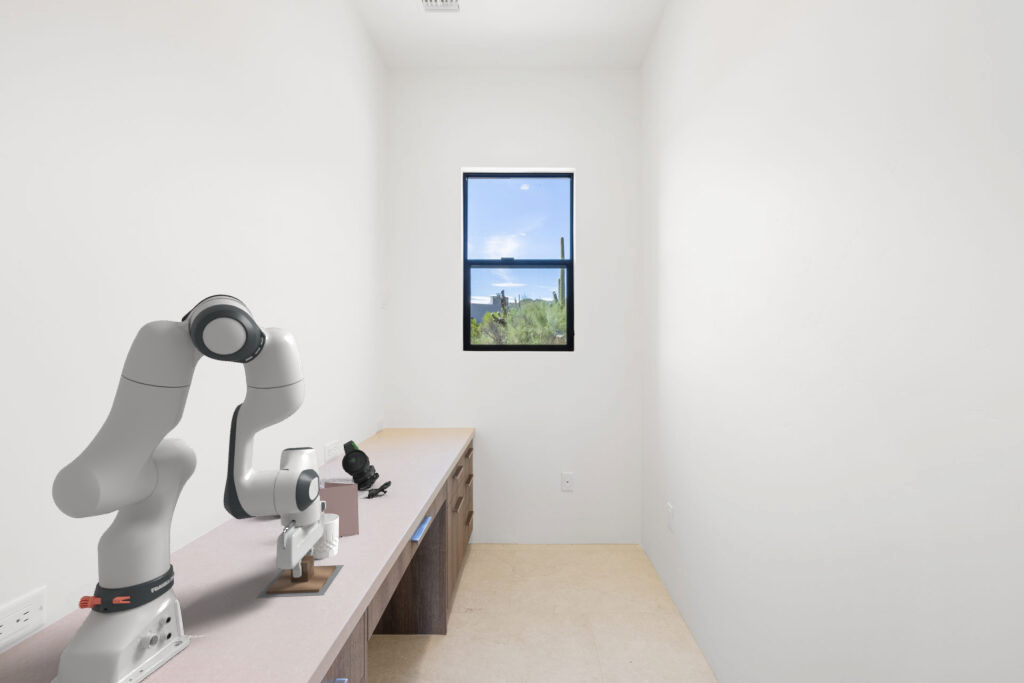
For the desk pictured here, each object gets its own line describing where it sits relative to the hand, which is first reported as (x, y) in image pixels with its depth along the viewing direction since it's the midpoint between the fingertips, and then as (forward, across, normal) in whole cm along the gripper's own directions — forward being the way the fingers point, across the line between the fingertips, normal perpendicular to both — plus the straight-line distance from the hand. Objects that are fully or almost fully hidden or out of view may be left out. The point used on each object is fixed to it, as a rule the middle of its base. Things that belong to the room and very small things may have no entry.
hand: (302, 570), depth 121 cm
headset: (+3, +75, +4) cm, 75 cm away
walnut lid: (+2, 0, 0) cm, 2 cm away
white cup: (+3, +15, 0) cm, 15 cm away
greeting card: (+3, +28, +1) cm, 28 cm away
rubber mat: (+3, 0, 0) cm, 3 cm away
